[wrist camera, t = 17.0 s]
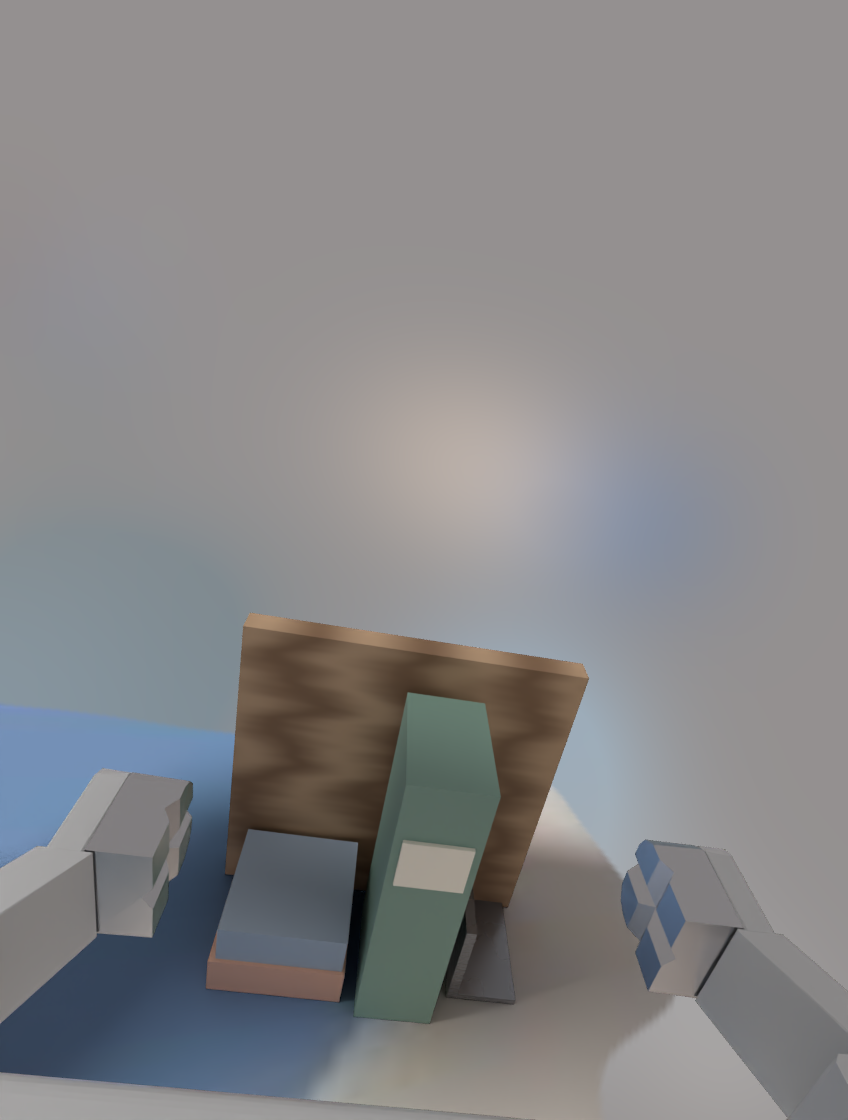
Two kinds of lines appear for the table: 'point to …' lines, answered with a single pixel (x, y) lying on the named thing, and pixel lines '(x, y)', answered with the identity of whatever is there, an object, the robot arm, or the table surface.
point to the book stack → (286, 918)
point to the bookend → (481, 956)
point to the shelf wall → (384, 734)
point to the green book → (425, 856)
